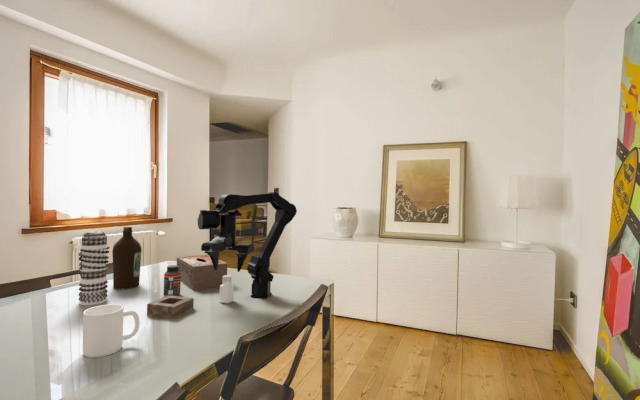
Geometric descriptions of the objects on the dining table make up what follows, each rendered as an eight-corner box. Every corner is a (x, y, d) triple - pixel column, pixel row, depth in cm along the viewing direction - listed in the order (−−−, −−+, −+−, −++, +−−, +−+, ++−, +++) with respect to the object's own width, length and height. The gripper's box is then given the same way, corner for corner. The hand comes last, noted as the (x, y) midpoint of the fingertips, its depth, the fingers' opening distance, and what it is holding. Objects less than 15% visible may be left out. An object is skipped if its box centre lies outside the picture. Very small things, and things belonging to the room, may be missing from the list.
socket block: (193, 309, 114) (193, 297, 114) (173, 319, 104) (174, 306, 104) (168, 306, 116) (168, 295, 116) (146, 316, 106) (147, 303, 106)
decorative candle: (111, 301, 119) (113, 232, 119) (80, 307, 112) (82, 233, 112) (104, 296, 125) (106, 230, 125) (74, 301, 119) (76, 231, 119)
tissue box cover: (176, 278, 156) (176, 257, 156) (207, 274, 165) (207, 254, 165) (192, 291, 136) (193, 266, 136) (226, 286, 144) (227, 263, 144)
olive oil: (107, 290, 133) (108, 228, 133) (117, 283, 144) (118, 226, 143) (136, 289, 135) (137, 228, 135) (144, 282, 146) (145, 226, 146)
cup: (83, 347, 83) (83, 307, 83) (137, 337, 90) (138, 300, 90) (81, 361, 76) (82, 317, 76) (140, 349, 83) (141, 308, 83)
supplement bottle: (173, 298, 125) (174, 268, 125) (160, 296, 126) (160, 267, 126) (183, 293, 131) (184, 265, 131) (170, 292, 132) (170, 264, 132)
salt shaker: (234, 301, 123) (234, 275, 123) (228, 304, 119) (228, 277, 119) (225, 299, 124) (225, 274, 124) (218, 302, 121) (219, 276, 121)
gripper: (192, 229, 116) (191, 273, 116) (240, 231, 112) (240, 277, 112) (210, 226, 127) (209, 267, 127) (255, 228, 122) (254, 270, 123)
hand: (227, 270), depth 122 cm, fingers open, 9 cm apart
